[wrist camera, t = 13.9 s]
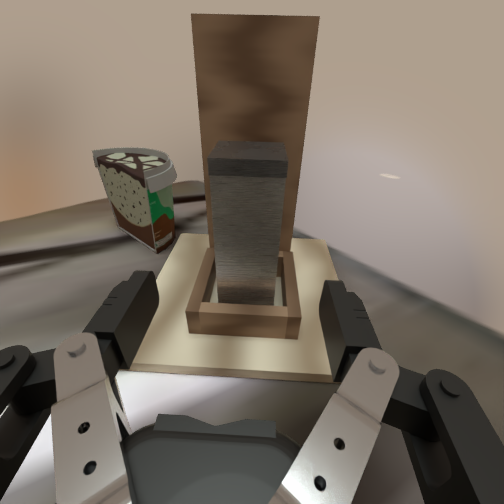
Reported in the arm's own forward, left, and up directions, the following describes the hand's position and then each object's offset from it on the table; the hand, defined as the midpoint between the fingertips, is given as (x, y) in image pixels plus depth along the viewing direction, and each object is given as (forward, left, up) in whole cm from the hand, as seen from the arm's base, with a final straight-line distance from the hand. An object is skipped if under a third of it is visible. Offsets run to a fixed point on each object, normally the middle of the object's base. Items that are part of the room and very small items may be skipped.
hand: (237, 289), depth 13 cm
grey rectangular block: (0, +8, -8) cm, 12 cm away
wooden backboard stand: (0, +10, -9) cm, 14 cm away
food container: (-13, +21, -10) cm, 27 cm away
